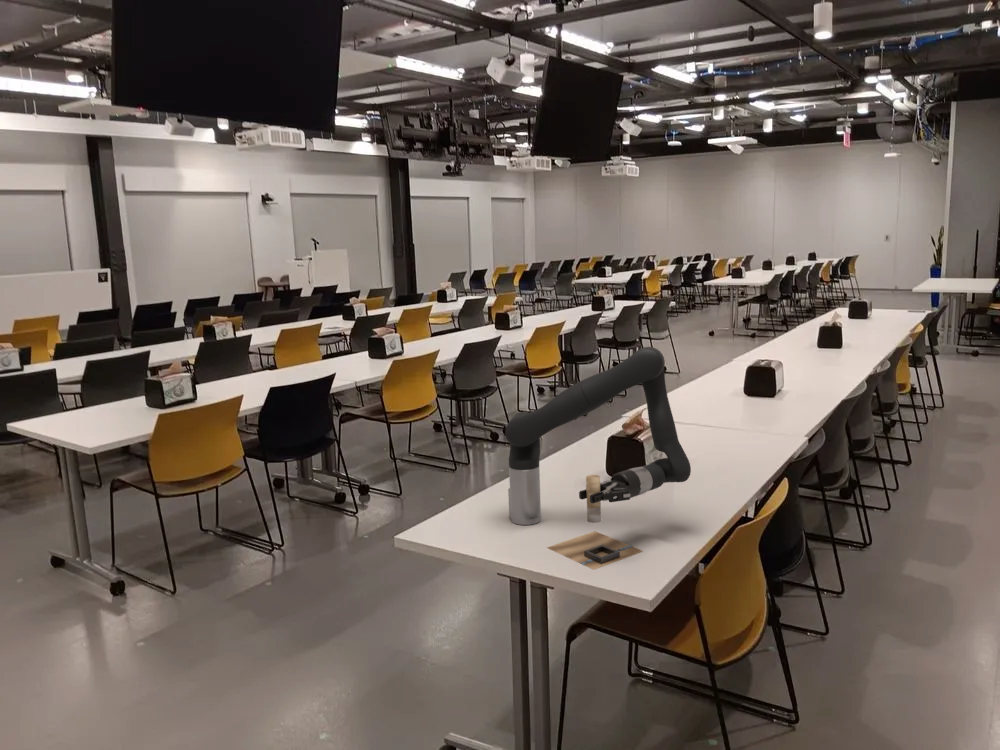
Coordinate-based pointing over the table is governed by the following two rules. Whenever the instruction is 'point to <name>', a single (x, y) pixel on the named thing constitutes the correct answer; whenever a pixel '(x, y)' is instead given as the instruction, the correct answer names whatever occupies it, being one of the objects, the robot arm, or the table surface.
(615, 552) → the pilot collar
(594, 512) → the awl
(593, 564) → the board
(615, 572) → the table surface
